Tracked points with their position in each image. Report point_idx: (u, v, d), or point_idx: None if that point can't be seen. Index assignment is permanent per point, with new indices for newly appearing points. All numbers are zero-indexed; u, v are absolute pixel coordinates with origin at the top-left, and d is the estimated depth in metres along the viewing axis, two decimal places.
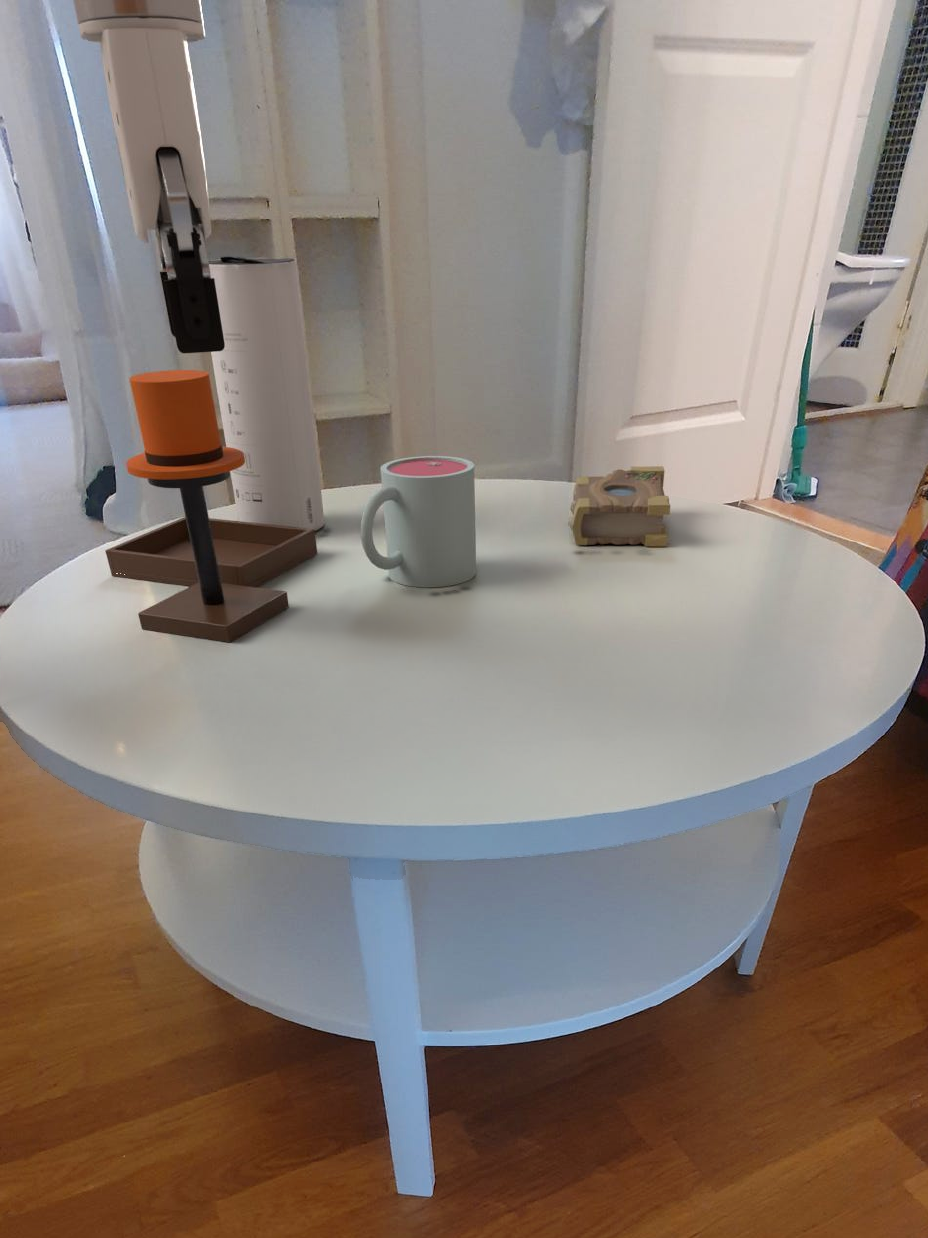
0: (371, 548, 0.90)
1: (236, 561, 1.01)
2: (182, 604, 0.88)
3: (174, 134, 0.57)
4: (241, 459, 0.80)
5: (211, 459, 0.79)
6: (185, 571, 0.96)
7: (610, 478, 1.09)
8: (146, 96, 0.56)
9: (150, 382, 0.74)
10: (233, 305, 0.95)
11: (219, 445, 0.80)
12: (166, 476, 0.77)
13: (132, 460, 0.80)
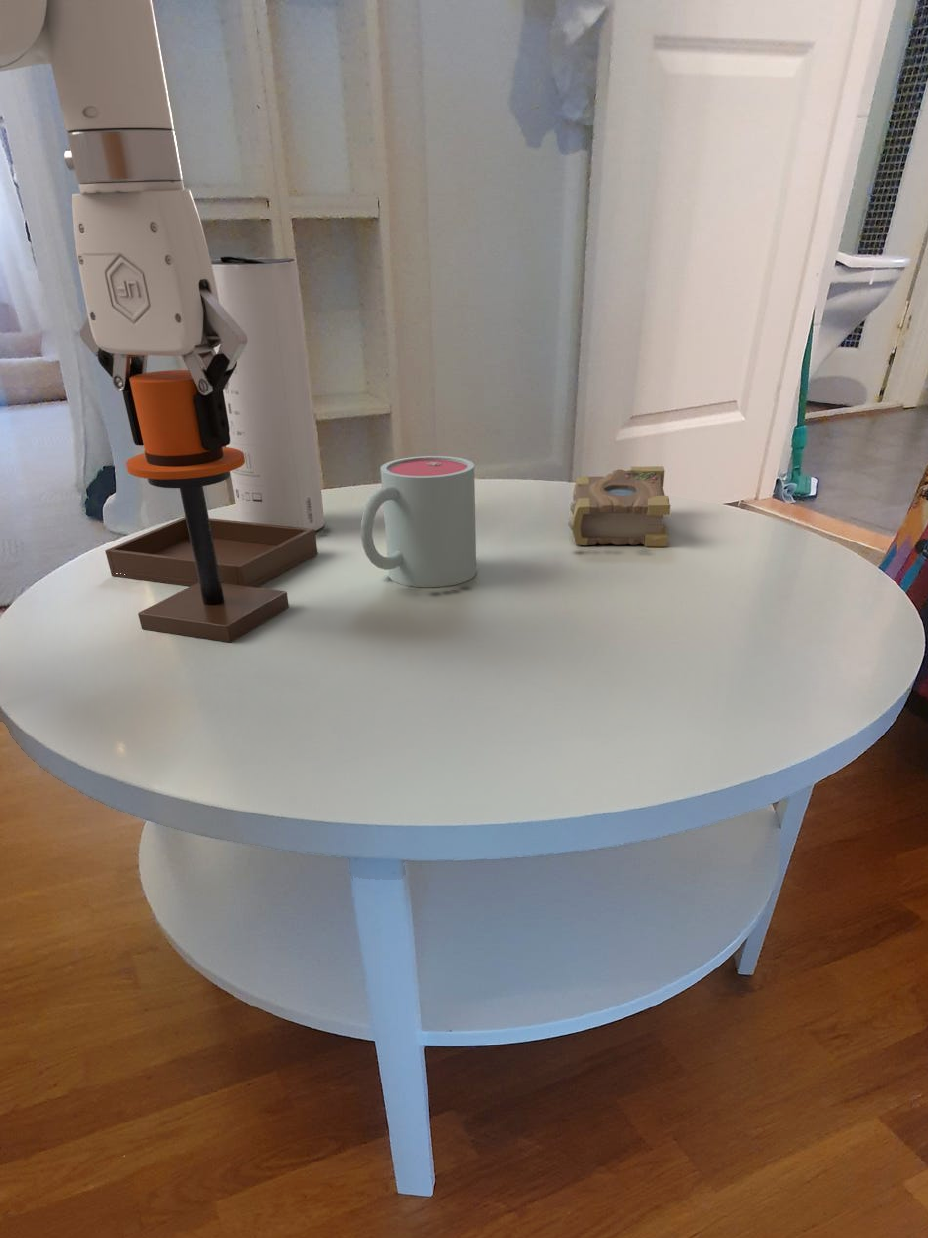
0: (371, 548, 0.90)
1: (236, 561, 1.01)
2: (182, 604, 0.88)
3: (205, 269, 0.71)
4: (241, 459, 0.80)
5: (211, 459, 0.79)
6: (185, 571, 0.96)
7: (610, 478, 1.09)
8: (187, 241, 0.69)
9: (150, 382, 0.74)
10: (233, 305, 0.95)
11: None
12: (166, 476, 0.77)
13: (132, 460, 0.80)
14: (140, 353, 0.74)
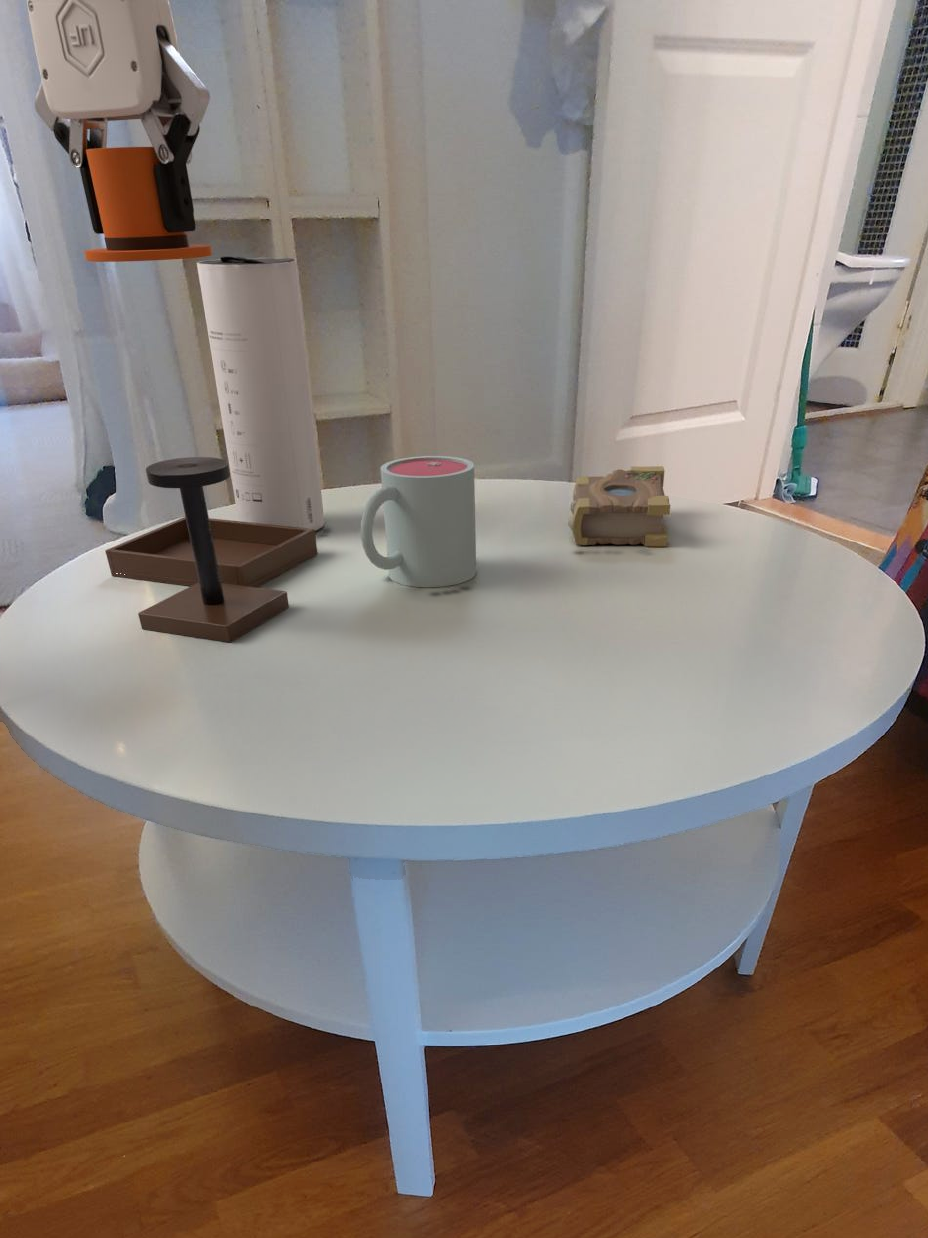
0: (371, 548, 0.90)
1: (236, 561, 1.01)
2: (182, 604, 0.88)
3: (164, 14, 0.66)
4: (207, 248, 0.75)
5: (175, 245, 0.74)
6: (185, 571, 0.96)
7: (610, 478, 1.09)
8: None
9: (107, 148, 0.69)
10: (233, 305, 0.95)
11: (184, 232, 0.75)
12: (125, 257, 0.72)
13: None
14: (96, 115, 0.69)
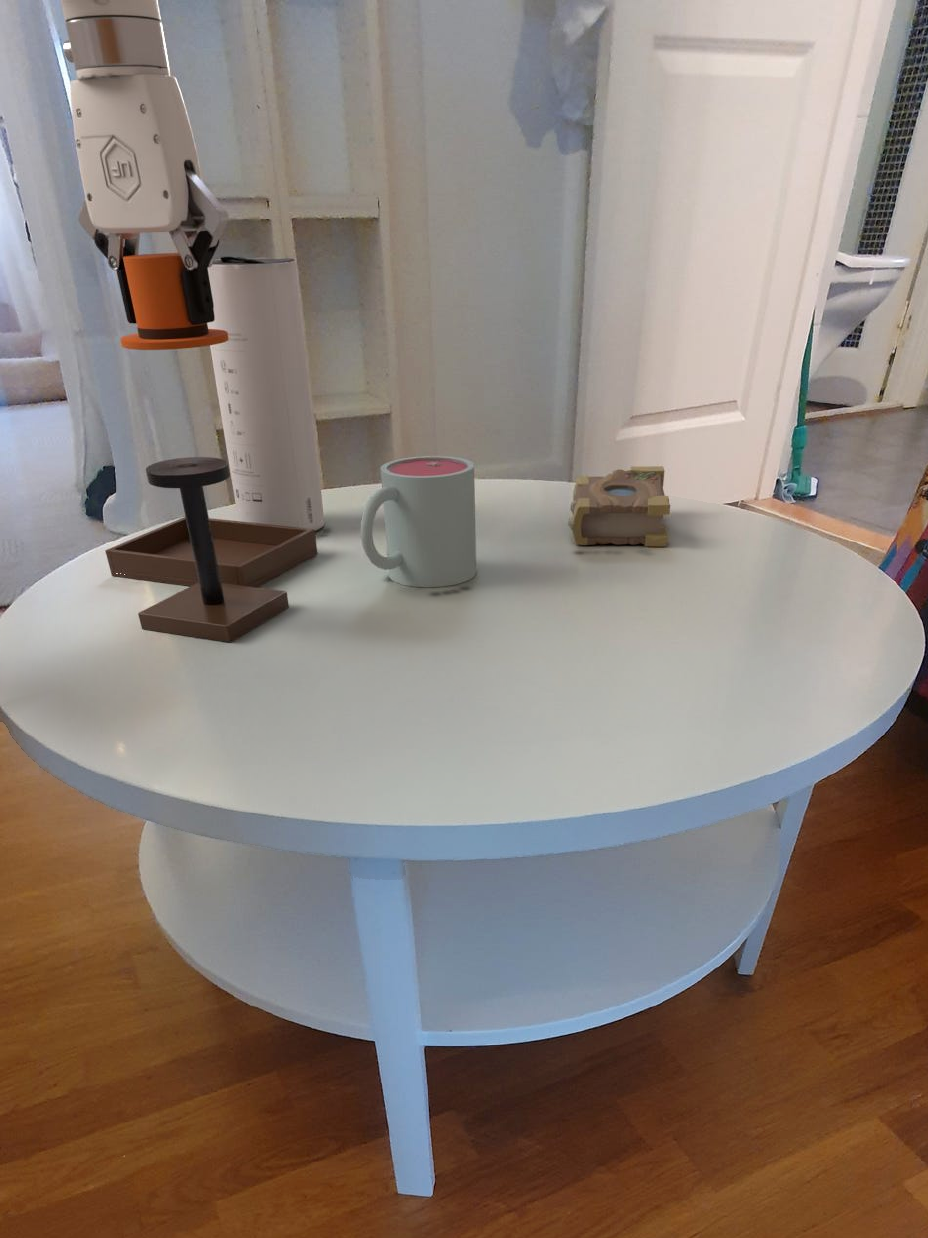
0: (371, 548, 0.90)
1: (236, 561, 1.01)
2: (182, 604, 0.88)
3: (190, 151, 0.79)
4: (225, 335, 0.88)
5: (197, 334, 0.87)
6: (185, 571, 0.96)
7: (610, 478, 1.09)
8: (174, 123, 0.77)
9: (141, 258, 0.83)
10: (233, 305, 0.95)
11: None
12: (156, 346, 0.85)
13: (126, 337, 0.89)
14: (132, 231, 0.82)
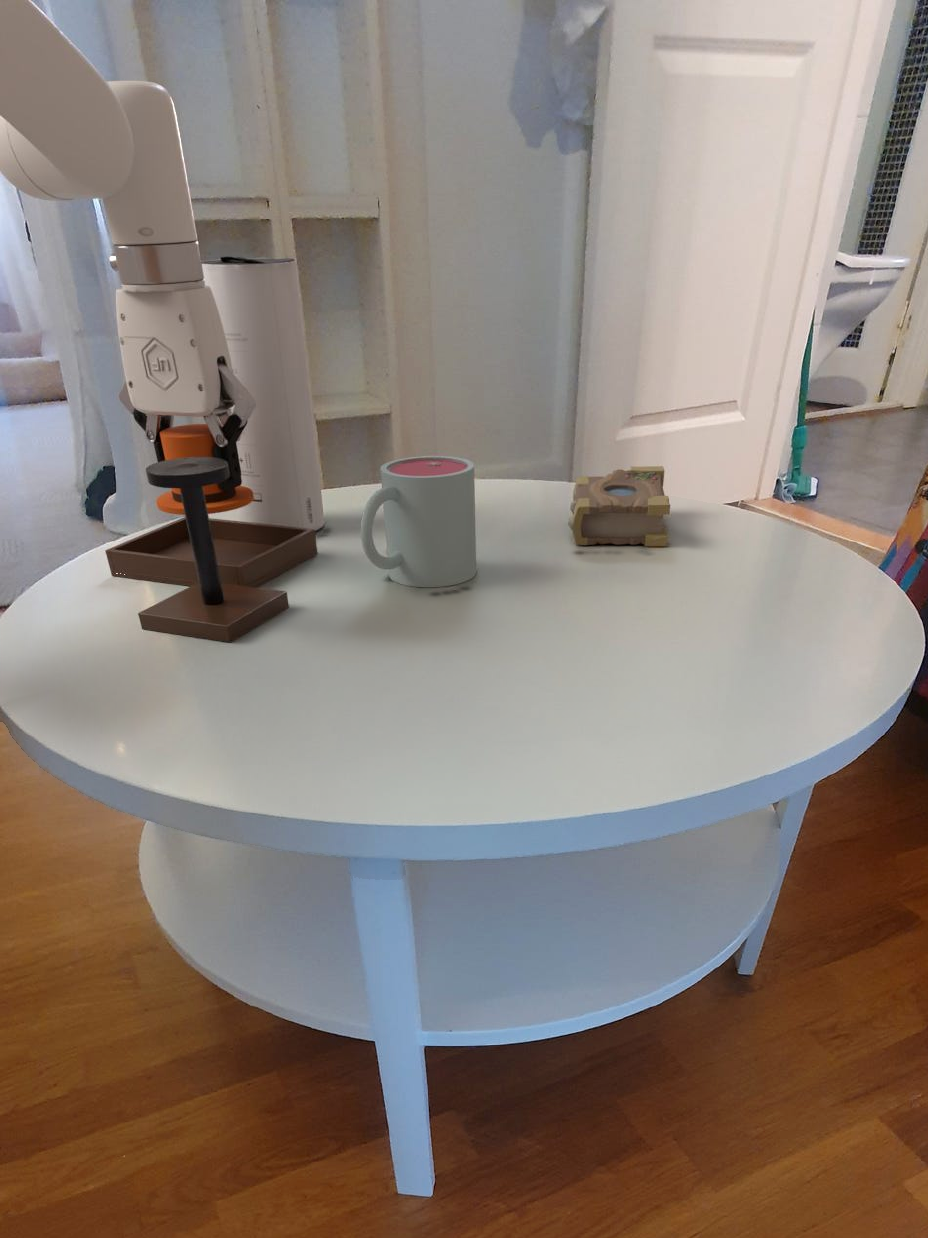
0: (371, 548, 0.90)
1: (236, 561, 1.01)
2: (182, 604, 0.88)
3: (222, 348, 0.88)
4: (251, 497, 0.97)
5: (226, 497, 0.96)
6: (185, 571, 0.96)
7: (610, 478, 1.09)
8: (208, 327, 0.86)
9: (177, 437, 0.92)
10: (233, 305, 0.95)
11: None
12: None
13: (161, 498, 0.98)
14: (169, 414, 0.91)
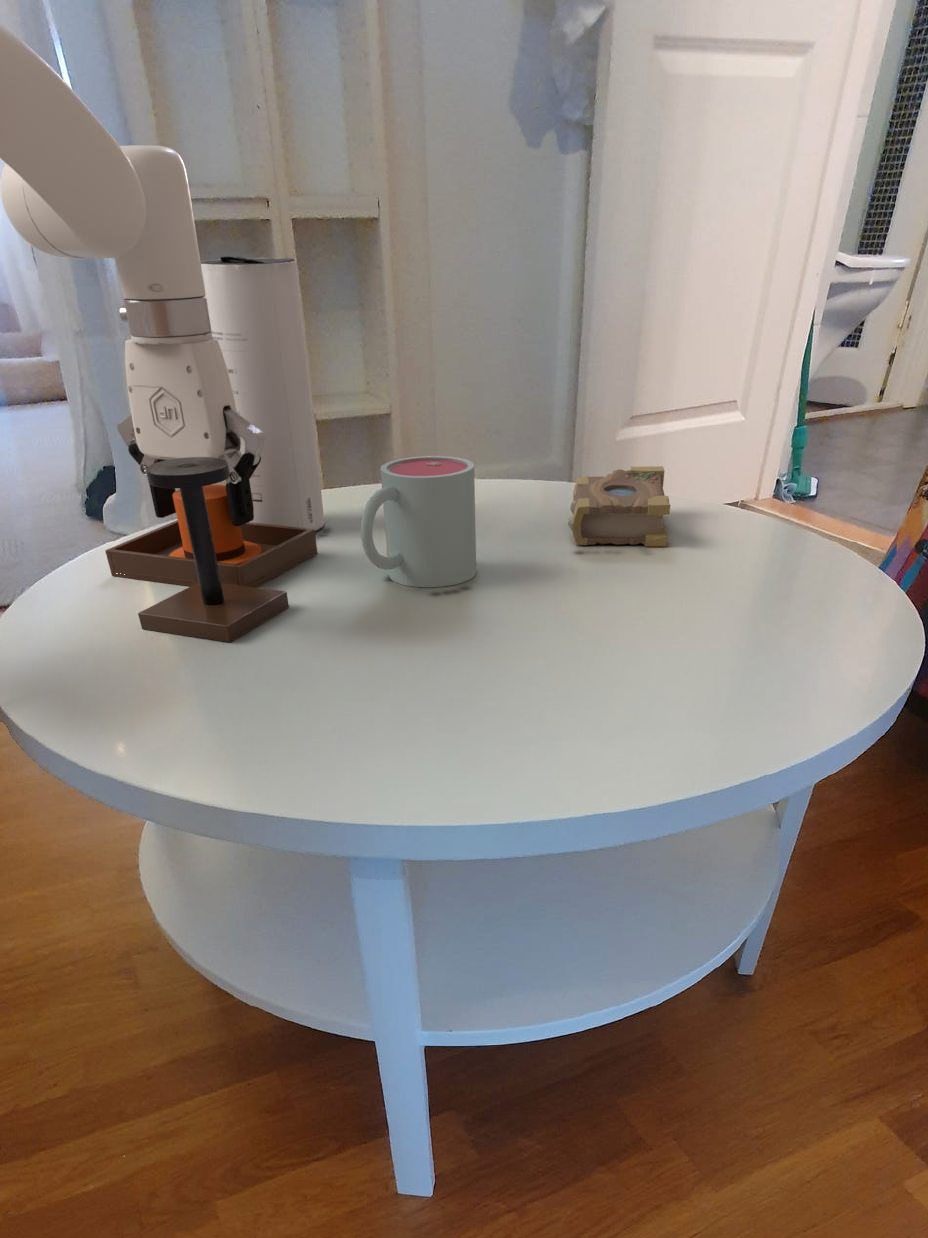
0: (371, 548, 0.90)
1: None
2: (182, 604, 0.88)
3: (228, 398, 0.91)
4: None
5: (236, 555, 1.00)
6: (185, 571, 0.96)
7: (610, 478, 1.09)
8: (215, 378, 0.89)
9: None
10: (233, 305, 0.95)
11: (242, 543, 1.01)
12: None
13: (173, 555, 1.01)
14: None
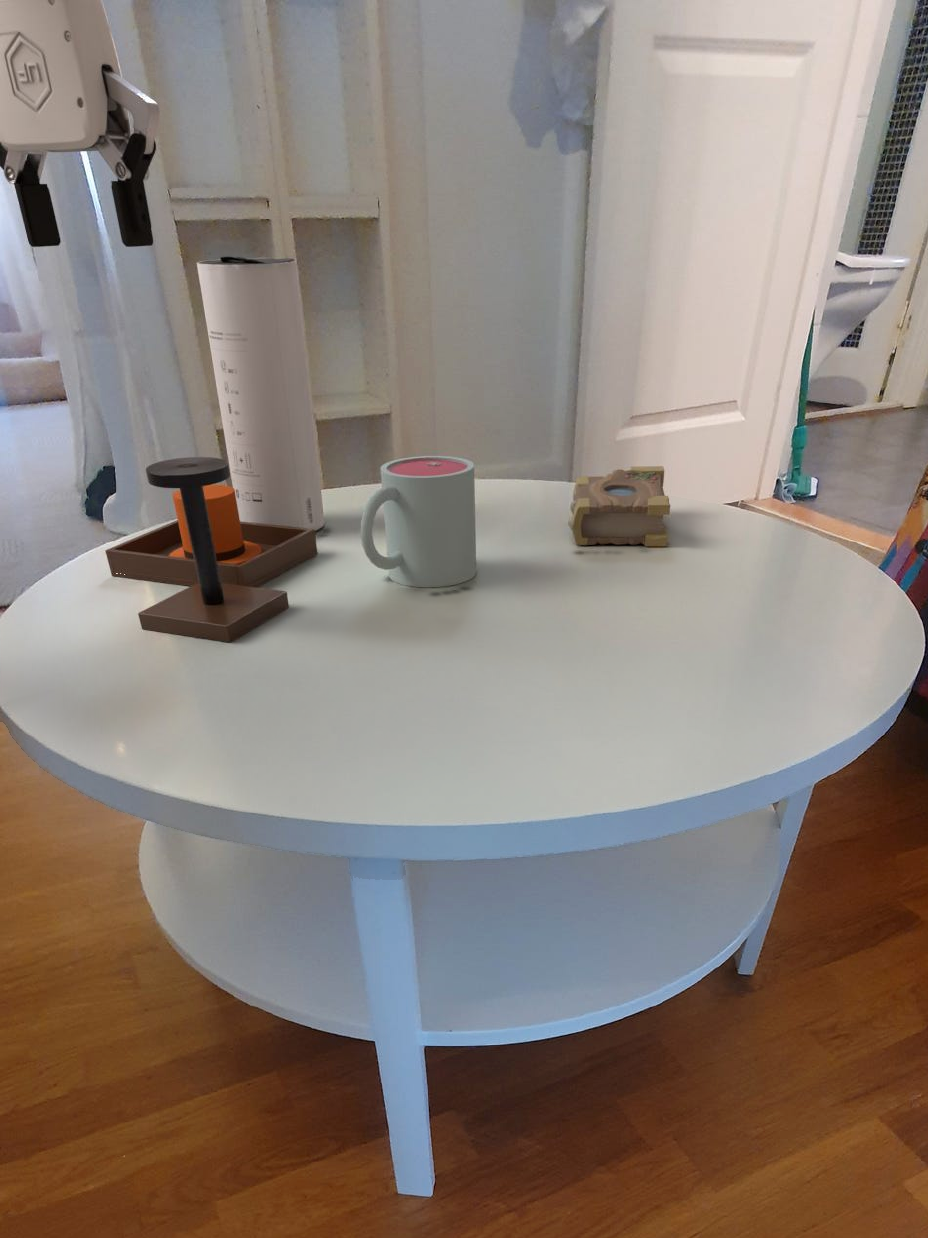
0: (371, 548, 0.90)
1: None
2: (182, 604, 0.88)
3: (109, 54, 0.69)
4: None
5: (236, 555, 1.00)
6: (185, 571, 0.96)
7: (610, 478, 1.09)
8: (88, 19, 0.67)
9: None
10: (233, 305, 0.95)
11: (242, 543, 1.01)
12: None
13: (173, 555, 1.01)
14: (44, 148, 0.72)
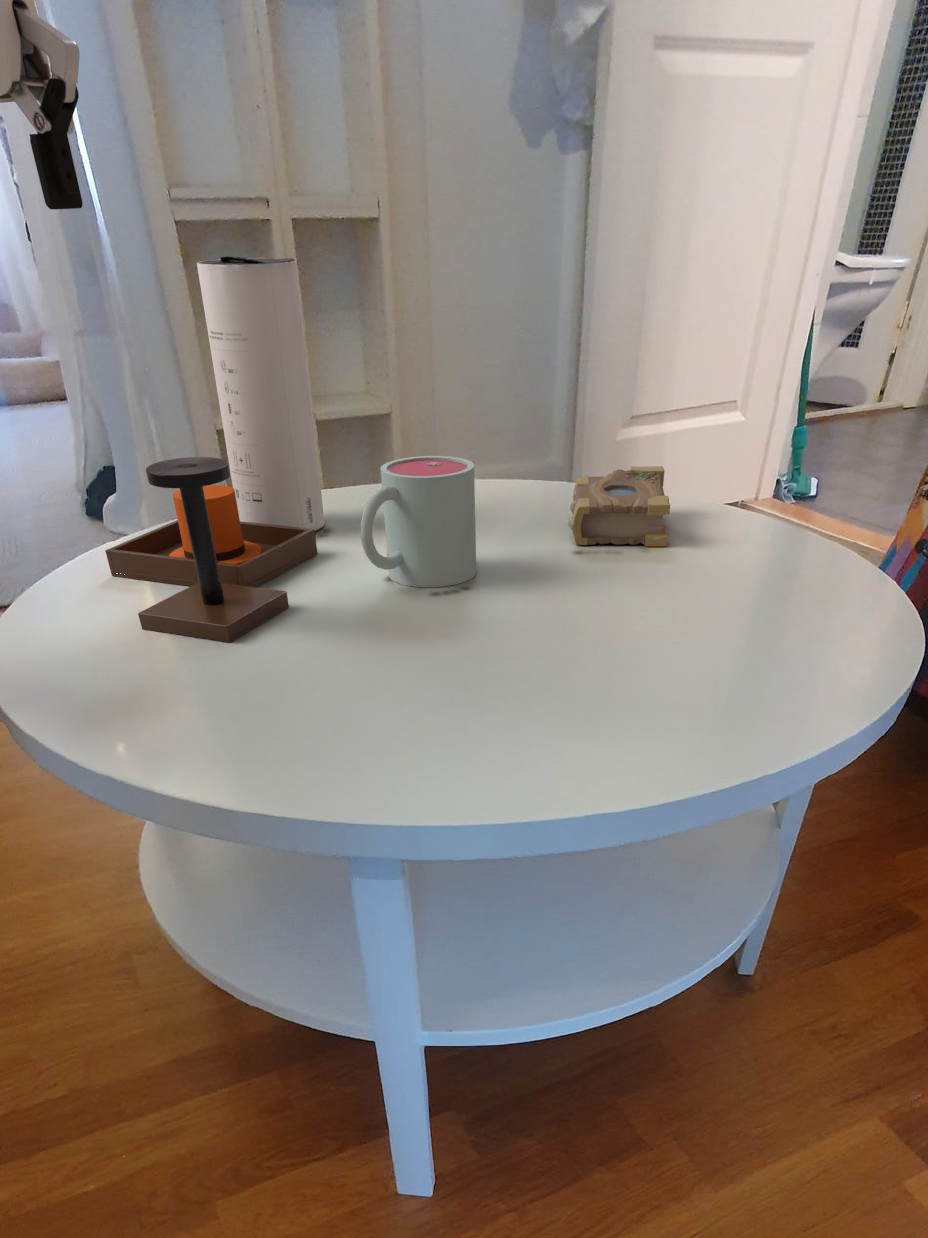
0: (371, 548, 0.90)
1: None
2: (182, 604, 0.88)
3: None
4: None
5: (236, 555, 1.00)
6: (185, 571, 0.96)
7: (610, 478, 1.09)
8: None
9: None
10: (233, 305, 0.95)
11: (242, 543, 1.01)
12: None
13: (173, 555, 1.01)
14: None
